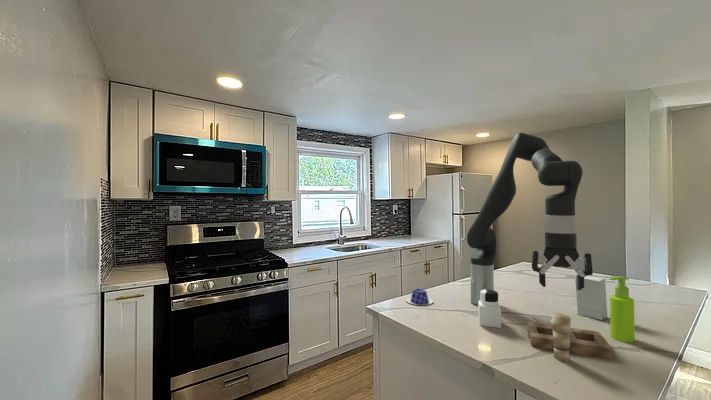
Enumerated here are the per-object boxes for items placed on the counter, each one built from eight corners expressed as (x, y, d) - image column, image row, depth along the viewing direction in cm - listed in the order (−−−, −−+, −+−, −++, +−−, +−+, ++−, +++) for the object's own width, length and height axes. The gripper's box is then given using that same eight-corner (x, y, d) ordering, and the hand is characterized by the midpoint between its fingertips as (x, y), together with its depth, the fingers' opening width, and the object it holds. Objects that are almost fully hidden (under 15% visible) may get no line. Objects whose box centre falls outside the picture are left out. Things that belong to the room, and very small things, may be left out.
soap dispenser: (602, 335, 102) (602, 274, 102) (622, 334, 102) (621, 274, 102) (619, 343, 96) (618, 279, 96) (639, 342, 97) (639, 278, 97)
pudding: (439, 303, 136) (438, 291, 136) (419, 308, 129) (419, 296, 129) (419, 296, 146) (419, 285, 146) (400, 300, 139) (400, 289, 139)
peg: (553, 360, 86) (553, 317, 86) (551, 353, 90) (550, 312, 90) (572, 363, 84) (572, 320, 84) (569, 356, 88) (568, 314, 88)
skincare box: (607, 317, 117) (607, 278, 117) (601, 321, 114) (601, 280, 114) (582, 310, 124) (581, 274, 124) (575, 314, 121) (575, 276, 121)
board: (531, 346, 95) (531, 335, 95) (527, 330, 106) (527, 321, 106) (612, 359, 87) (612, 347, 87) (599, 341, 98) (598, 331, 98)
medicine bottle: (499, 320, 115) (498, 288, 115) (501, 328, 108) (501, 294, 108) (478, 318, 117) (478, 287, 117) (479, 325, 110) (479, 292, 110)
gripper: (533, 231, 87) (534, 288, 87) (595, 233, 81) (595, 294, 81) (530, 229, 94) (530, 282, 94) (586, 230, 88) (587, 287, 88)
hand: (561, 287), depth 87 cm, fingers open, 8 cm apart
